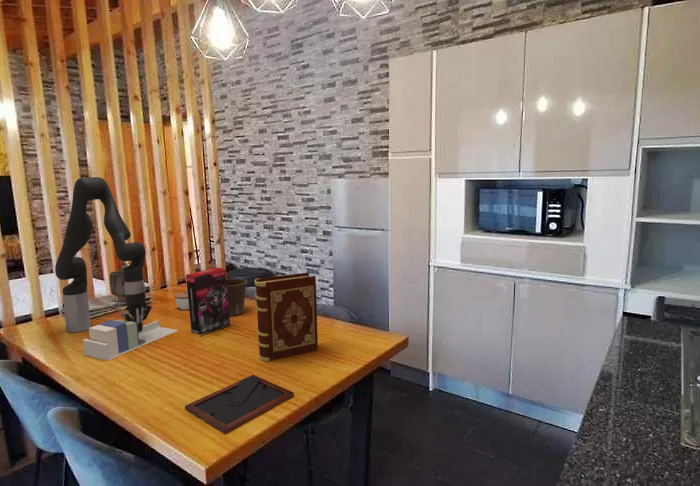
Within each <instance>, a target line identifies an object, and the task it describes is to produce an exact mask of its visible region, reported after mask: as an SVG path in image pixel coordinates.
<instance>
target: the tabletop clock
mask: <svg viewBox="0 0 700 486" xmlns="http://www.w3.org/2000/svg"><path fill="white" fill-rule="evenodd" d="M118 263H119V264H120V265H121V266H120V269H118V270H115V271H112V272H110V274H109V286H110V291H111V294H112V295H113V296H115V297H117V298H118V297H119V298H120V297H122V298H123V297H124V298H125V291H124V274H123V270H124V268H125V267H127V266H129V265H130V264H131V261H128V263H126V262H124V261H123V262H121V260H120V259H119V258H118Z"/></svg>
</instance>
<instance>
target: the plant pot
mask: <svg viewBox="0 0 700 486" xmlns="http://www.w3.org/2000/svg"><path fill="white" fill-rule="evenodd" d="M226 281H227V293H228V305H229V316H230V317H233V316H235V317H236V316H239V315H242V314H244V313H245V302H246V301H245V299H246V298H245V295H246V288H247V284H248V281H247V280H246V279H244V278H226Z"/></svg>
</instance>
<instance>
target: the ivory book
mask: <svg viewBox="0 0 700 486" xmlns="http://www.w3.org/2000/svg"><path fill="white" fill-rule="evenodd" d="M88 333H89V340H93V341H97V342H102V343H107V344H108V345H109V354H110V358H111V357H114V356H116V355H118V354H119V350H118V341H117V331H116V328H113V327H108V326H103V325H100V324H97V325H94V326H91V327H90V328H89V329H88ZM114 358H115V357H114Z"/></svg>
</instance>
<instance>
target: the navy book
mask: <svg viewBox="0 0 700 486" xmlns="http://www.w3.org/2000/svg"><path fill="white" fill-rule="evenodd" d="M99 325H103V326H108V327H113V328H116V331H117V341H118V350H119V353H122V352H124V351H127V350H129V349H128V339H127V329H126V323H124V322H118V321H115V320H112V319H109V320H106V321H103V322H100V323H99Z"/></svg>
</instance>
